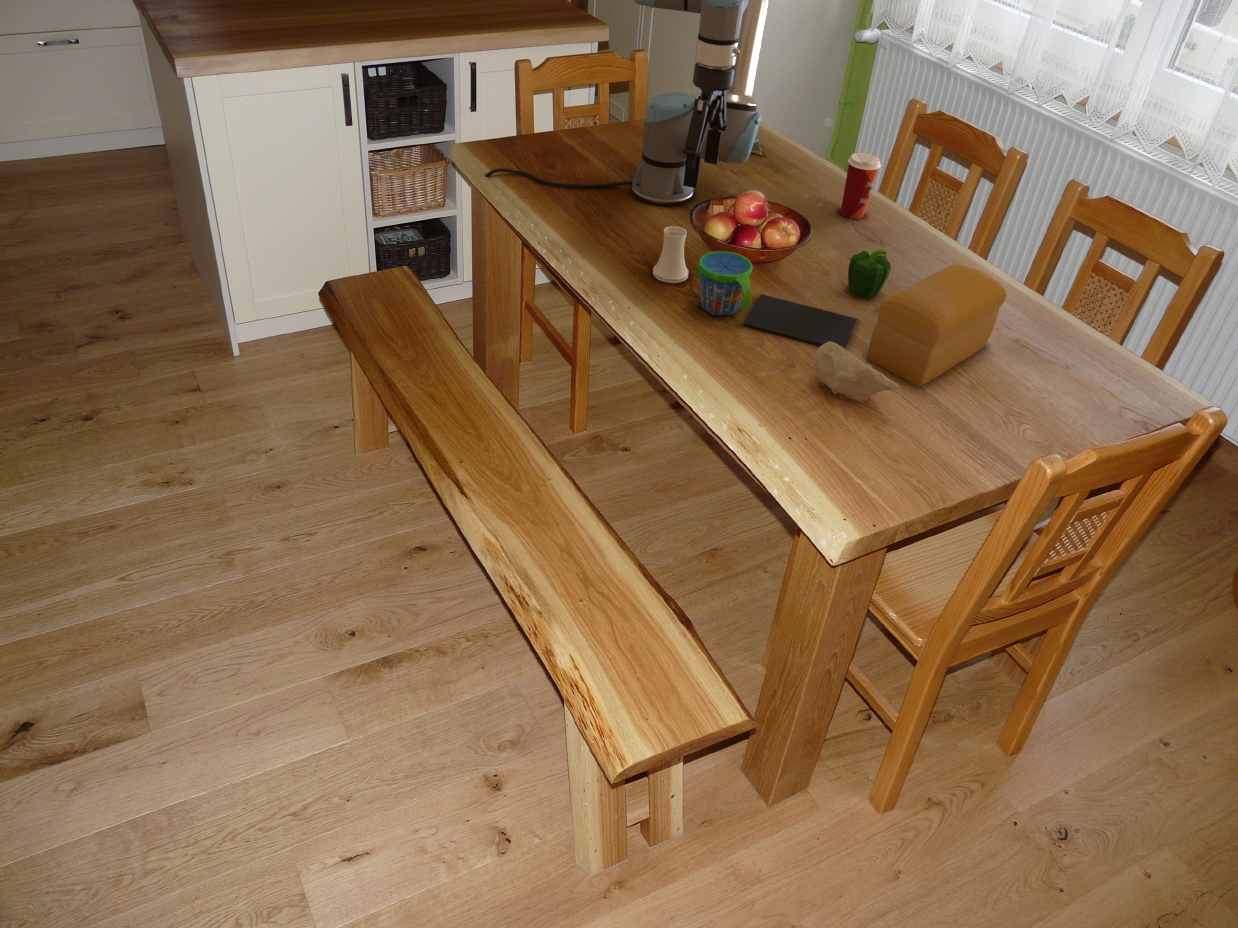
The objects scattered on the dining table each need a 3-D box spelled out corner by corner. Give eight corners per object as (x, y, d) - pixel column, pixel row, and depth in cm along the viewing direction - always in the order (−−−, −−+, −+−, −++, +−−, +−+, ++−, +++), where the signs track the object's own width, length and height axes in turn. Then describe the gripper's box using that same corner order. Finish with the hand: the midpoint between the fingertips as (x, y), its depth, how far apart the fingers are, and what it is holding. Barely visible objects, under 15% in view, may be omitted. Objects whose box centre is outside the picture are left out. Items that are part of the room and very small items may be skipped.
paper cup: (867, 222, 224) (882, 166, 215) (835, 218, 225) (848, 161, 216) (867, 209, 230) (881, 154, 221) (836, 204, 231) (849, 149, 222)
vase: (695, 275, 198) (700, 232, 192) (672, 287, 194) (677, 243, 187) (668, 262, 202) (673, 219, 196) (645, 273, 198) (649, 230, 191)
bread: (920, 388, 171) (944, 318, 161) (863, 357, 178) (882, 288, 168) (989, 345, 184) (1014, 278, 175) (933, 317, 191) (955, 251, 182)
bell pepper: (840, 296, 195) (850, 253, 189) (846, 279, 201) (857, 237, 195) (879, 306, 194) (892, 262, 187) (885, 288, 200) (897, 245, 193)
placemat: (743, 326, 184) (743, 323, 184) (761, 296, 193) (761, 294, 193) (842, 352, 179) (843, 349, 178) (856, 321, 188) (856, 318, 188)
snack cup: (677, 294, 192) (683, 249, 185) (721, 285, 196) (728, 241, 189) (715, 332, 181) (722, 286, 175) (761, 322, 185) (769, 277, 179)
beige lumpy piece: (800, 375, 175) (803, 366, 161) (823, 343, 175) (828, 331, 160) (868, 422, 173) (877, 417, 159) (892, 389, 173) (903, 382, 158)
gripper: (714, 86, 163) (699, 201, 176) (751, 51, 181) (735, 157, 194) (674, 78, 165) (662, 192, 178) (715, 44, 183) (701, 150, 196)
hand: (700, 174), depth 186 cm, fingers open, 13 cm apart
